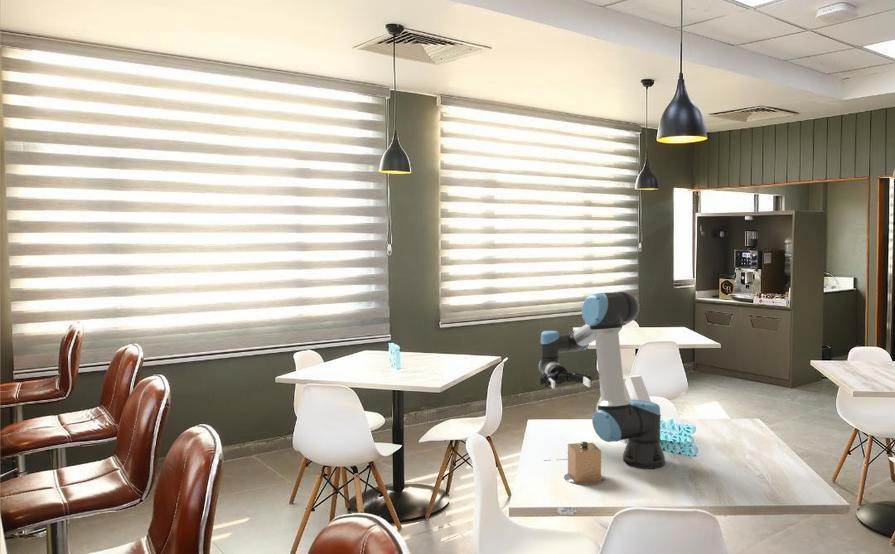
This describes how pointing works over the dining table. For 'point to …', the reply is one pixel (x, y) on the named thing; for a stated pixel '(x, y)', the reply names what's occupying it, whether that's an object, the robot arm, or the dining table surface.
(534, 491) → the dining table surface
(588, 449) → the wooden cube with knob
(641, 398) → the milk carton
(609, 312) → the robot arm
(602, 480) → the plate
